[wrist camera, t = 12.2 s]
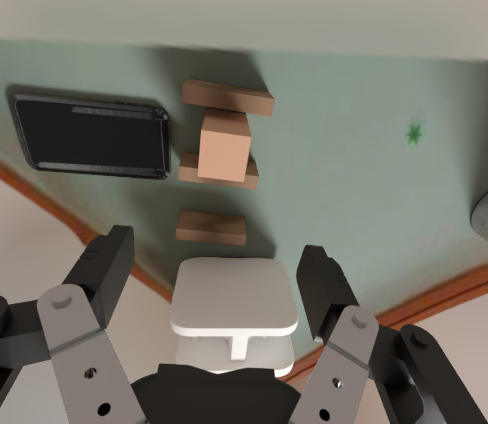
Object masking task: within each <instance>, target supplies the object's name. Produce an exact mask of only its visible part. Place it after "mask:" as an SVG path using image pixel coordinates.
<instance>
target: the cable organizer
mask: <svg viewBox="0 0 488 424" xmlns="http://www.w3.org/2000/svg"><path fill="white" fill-rule="evenodd" d="M169 318H170V326H171V328H172V330H173V331H174V332H176V333H177V334H179V339H178V345H177V352H176V358H175V359H176V364H180V365H190V366H194V367H197V368H200V369H203V370H206V371H210V372H213V373H216V374H220V373H225V372H229V371H234V370H238V369H242V368H269V369H274V372H275V377H280V376H284V375H286V374H287V373H289V372H290V371H291V369H292V366H293V363H294V352H293V347H292V342H291V338H290V333H292V332H293V331H294V330H295V329H296V326H297V323H298V319H299V315H298V311H297V307H296V303H295V299H294V295H293V291H292V287H291V283H290V279H289V275H288V271H287V268H286V266H285V265H284V264H283V263H282V262H280V261H277V260H274V259H266V258H219V257H198V258H190V259H187V260H185V261H183V262H182V263H181V264H180V266H179V270H178V275H177V280H176V285H175V290H174V294H173V299H172V304H171V309H170V314H169Z"/></svg>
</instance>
